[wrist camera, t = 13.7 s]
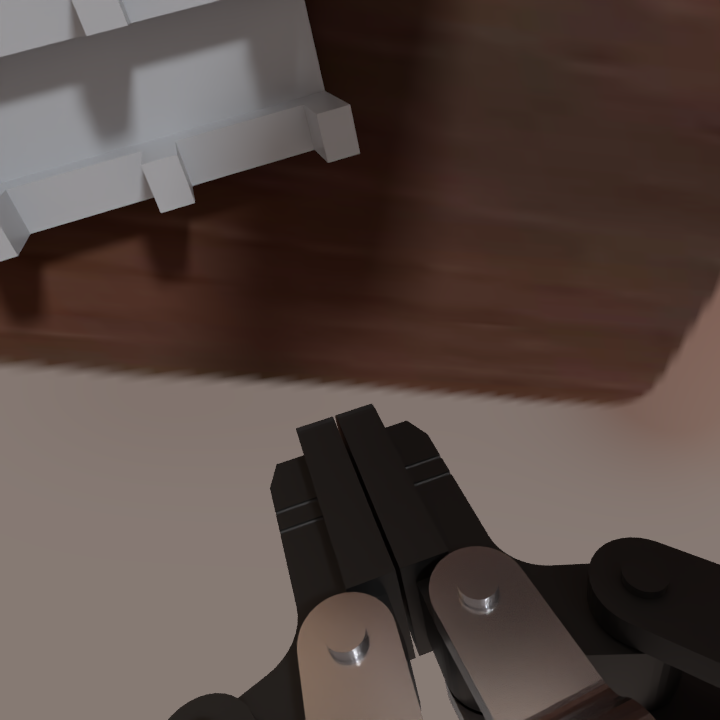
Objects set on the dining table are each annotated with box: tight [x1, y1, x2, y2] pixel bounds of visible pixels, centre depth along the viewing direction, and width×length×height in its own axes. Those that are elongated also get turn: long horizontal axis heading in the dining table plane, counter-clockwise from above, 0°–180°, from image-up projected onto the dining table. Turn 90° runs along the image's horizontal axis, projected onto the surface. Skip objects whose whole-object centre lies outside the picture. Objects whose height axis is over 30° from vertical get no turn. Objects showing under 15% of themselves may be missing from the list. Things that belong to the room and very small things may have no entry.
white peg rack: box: [0, 0, 360, 261], centre depth 25 cm, size 10×26×7 cm, turn 102°
